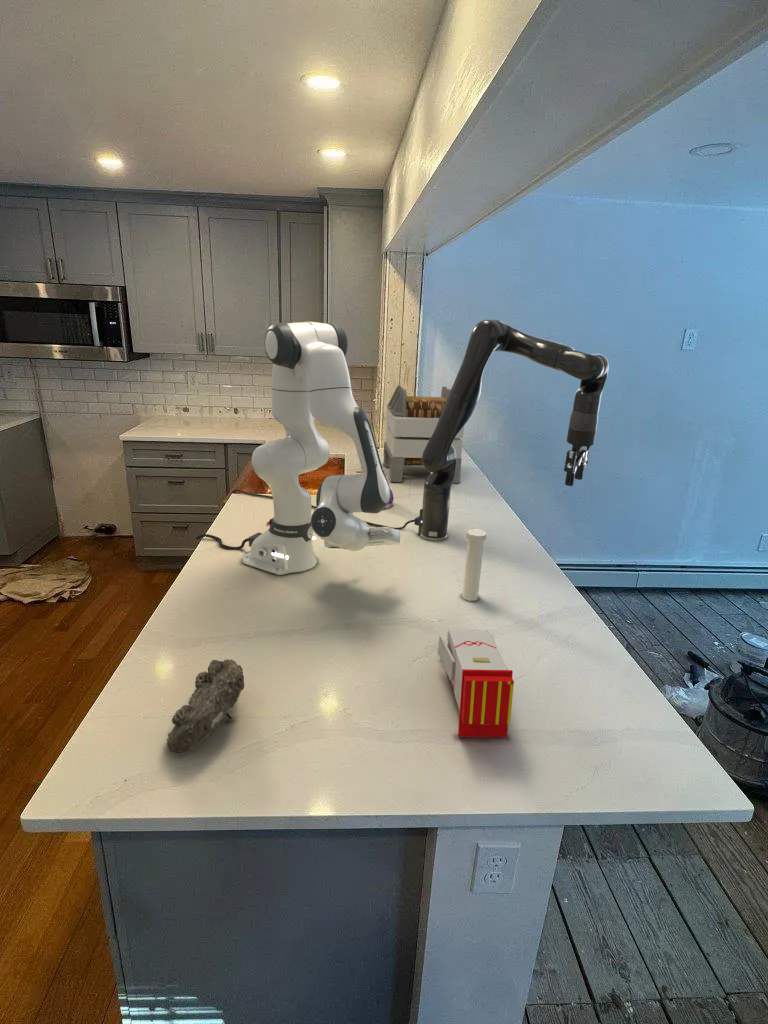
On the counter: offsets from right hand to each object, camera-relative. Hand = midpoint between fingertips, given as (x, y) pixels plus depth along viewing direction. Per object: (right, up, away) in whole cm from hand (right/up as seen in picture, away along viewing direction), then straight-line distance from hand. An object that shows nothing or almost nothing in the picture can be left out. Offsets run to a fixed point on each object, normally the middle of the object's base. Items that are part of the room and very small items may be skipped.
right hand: (573, 482), depth 165 cm
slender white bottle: (-31, -32, -8) cm, 46 cm away
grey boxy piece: (-38, +10, +110) cm, 116 cm away
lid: (-31, -15, -14) cm, 37 cm away
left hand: (-58, -18, -3) cm, 61 cm away
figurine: (-56, -6, +62) cm, 84 cm away
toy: (-38, -46, -47) cm, 76 cm away
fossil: (-88, -48, -57) cm, 115 cm away
